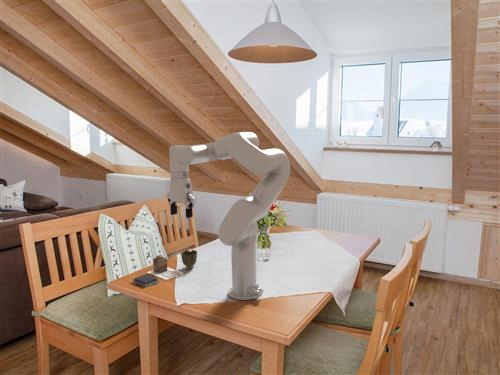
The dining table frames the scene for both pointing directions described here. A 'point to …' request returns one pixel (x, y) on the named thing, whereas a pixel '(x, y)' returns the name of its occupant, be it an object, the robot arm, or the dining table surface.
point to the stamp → (160, 264)
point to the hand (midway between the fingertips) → (181, 215)
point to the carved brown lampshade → (189, 258)
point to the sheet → (166, 274)
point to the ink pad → (145, 280)
